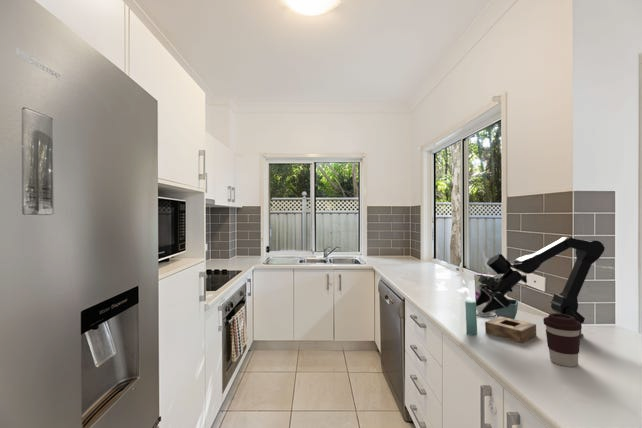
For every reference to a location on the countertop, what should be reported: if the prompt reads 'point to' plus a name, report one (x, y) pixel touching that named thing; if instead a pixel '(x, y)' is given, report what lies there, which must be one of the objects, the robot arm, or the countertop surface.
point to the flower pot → (508, 310)
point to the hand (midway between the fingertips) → (478, 308)
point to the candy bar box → (480, 284)
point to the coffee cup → (563, 338)
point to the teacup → (479, 312)
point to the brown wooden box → (511, 329)
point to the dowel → (471, 317)
